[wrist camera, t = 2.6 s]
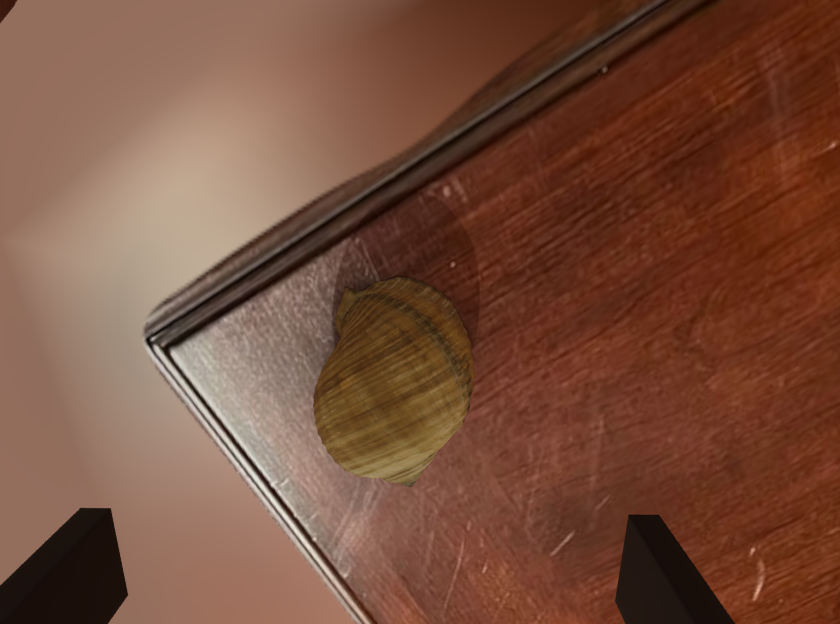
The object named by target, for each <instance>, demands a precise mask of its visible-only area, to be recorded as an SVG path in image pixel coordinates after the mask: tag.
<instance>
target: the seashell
mask: <svg viewBox="0 0 840 624" xmlns="http://www.w3.org/2000/svg"><path fill="white" fill-rule="evenodd" d="M348 287H349V286H347V287H345V292H344V295H343V298H342V300H341V303H340V305H339V308H338V311H337V316H336V326H337V330H338V332H339V335H340V337H341V338H340V341H339V342H338V344H337V346H336V348H335V349H334V350H333V352H332V354H331V355H330V357H329V358H328V360H327V363H326V364H325V366H324V367H323V369H322V372H321V374H320V376H319V379H318V382H317V385H316V387H315V394H314V405H313V406H314V416H315V423H316V426H317V430H318V434H319V436H320V438H321V440H322V443H323V445H324V446H325V447H326V449H327V452H328V453H329V454H330V455H331V456H332V457H333V459H334V461H335V462H336V463H337V464H339V465H340V466H341V467H342V468H343V469H344V470H345V471H348V472H351V473H353V474H354V475H356V476H363V477H368V478H371V479H372V478H377V477H381V478H382V479H384V480H385V481H388V482H392V483H399V484H402V485H405V486H408V487H412V486H413V485H414V484H415V482H416V480H417V479H418V478H419V476H420V475H421V474H422V472H423V470H424V468H425V467H427V466H428V465H429V463H430V462H431V461H432V460H433V459H434V458H435V456H436V453H437V451H438V450H439V449H440V448H441V447H443V446H444V444H445V443H446V442H447V441H448V440H449V439H450V438H451V436H452V435H453V434H454V433H455V432H456V431H457V430H459V429H460V428H461V426H462V424H463V422H464V417H465V415H466V414H467V412H468V411H469V408H470V397H471V394H472V392H473V388H474V384H473V378H474V375H475V370H474V368H473V363H474V356H473V354H472V352H471V342H470V341H469V339H468V333H467V330H466V329H465V328H464V326H463V321H462V320H461V319H460V318H459V315H458V312H457V311H456V310H455V309H454V307H453V304H452V302H451V301H450V300H449V299H448V298H447V297H446V296H445V295H444V294H443V293H441V292H439V291H438V290H436V289H435V288H434V287H432V286H429V285H427V284H426V283H425V282H419V281H418V280H416V279H414V278H405V277H403V276H400V277H396V278H391V279H390V280H386V281H379V282H377V283H374V284H372V285H371V286H370V287H368V288H367V289H365V290H363V291H356V290H355V289H353V288H348Z"/></svg>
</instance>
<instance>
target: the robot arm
mask: <svg viewBox="0 0 840 624" xmlns="http://www.w3.org/2000/svg"><path fill="white" fill-rule="evenodd" d="M127 596H128V593H127V588H126V582H125V578H124V573H123V567H122V562H121V557H120V552H119V548H118V542H117V537H116V533H115V528H114V523H113V517H112V513H111V509H110V508H80V509H79V510H78V511H77V512H76V513H75V514H74V515H73V516H72V517H71V518H70V519H69V520H68V521H67V522H66V523H65V524H64V525H62V527H60V528H59V529H58V530H57V531H56V532H55V533H54V534H53V535H52V536H51V537H50V538H49V539H48V540H47V541H46V542H45V543H44V544H43V545H42V546H41V547H40V548H39V549H38V550H37V551H36V552H35V553H34V554H32V555H31V556H30V557H29V558H28V559H27V560H26V561H25V562H24V563H23V564H22V565H21V566H20V567H19V568H18V569H17V570H16V571H15V572H14V573H13V574H12V575H11V576H10V577H9V578H8V579H7V580H6V581H4V582H3V584H2V585H0V624H108V623H109V621H110V620H111V618H112V617H113V616H114V614H115V613H116V611H117V610H118V609H119V607H120V606H121V604H122V603H123V602H124V600H125V598H126V597H127ZM615 602H616V604H617V606H618V608H619V611H620V613H621V615H622V617H623V619H624V622H625V624H735V623H734V622H733V620H732V619H731V617H730V616H729V614H728V613H727V612H726V610H725V609H724V607H723V606H722V604H721V603H720V602H719V600H718V599H717V597H716V596H715V594H714V593H713V591H712V590H711V589H710V587H709V586H708V584H707V583H706V581H705V580H704V579H703V577H702V576H701V574H700V573H699V571H698V570H697V569H696V567H695V566H694V564H693V563H692V561H691V560H690V559H689V557H688V556H687V554H686V553H685V551H684V550H683V549H682V547H681V546H680V544H679V543H678V541H677V540H676V539H675V537H674V536H673V534H672V533H671V531H670V530H669V529H668V527H667V526H666V524H665V523H664V521H663V520H662V519H661V517H660V516H659V515H629V516H628V522H627V528H626V535H625V541H624V548H623V554H622V561H621V567H620V574H619V580H618V587H617V593H616V599H615Z"/></svg>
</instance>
